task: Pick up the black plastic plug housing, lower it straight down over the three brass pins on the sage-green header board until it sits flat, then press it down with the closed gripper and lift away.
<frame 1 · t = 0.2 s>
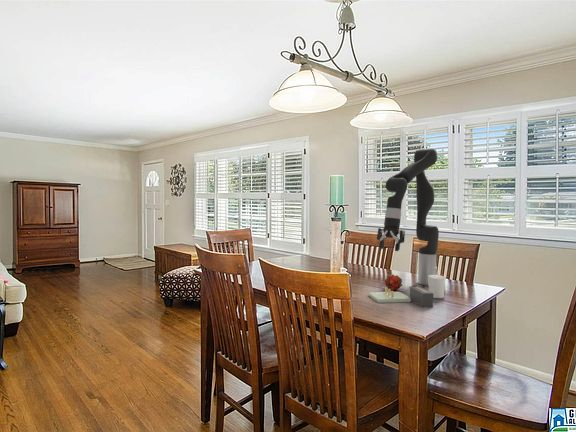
hand: (388, 249, 181), 22 cm above the table, tool pointing down, fingers open, 8 cm apart
white cup: (436, 296, 179), on the table
plug housing: (420, 302, 168), on the table
dragon fruit: (393, 290, 190), on the table
header board: (389, 298, 174), on the table
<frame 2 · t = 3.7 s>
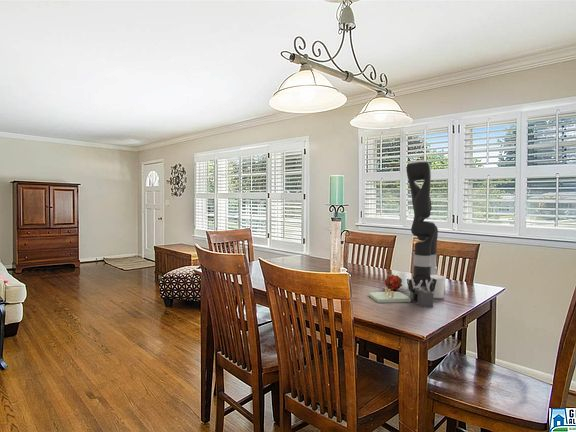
hand: (421, 300, 168), 1 cm above the table, tool pointing down, fingers closed on plug housing, 5 cm apart
plug housing: (420, 302, 168), on the table, touching gripper
everything else where it was.
when the fingers open (3 cm above the table, at t = 9.5 s): plug housing stays where it is, resting on header board.
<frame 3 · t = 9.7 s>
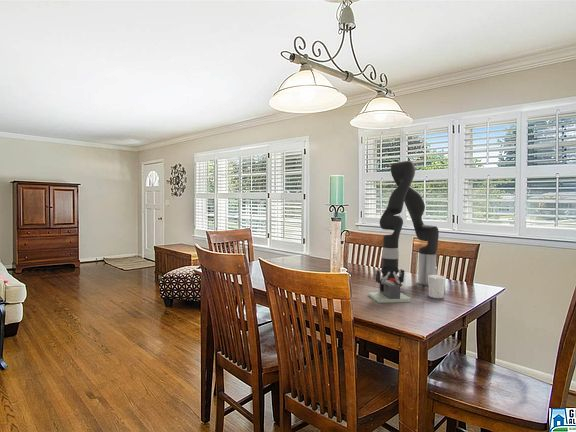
hand: (389, 291, 174), 4 cm above the table, tool pointing down, fingers open, 6 cm apart
plug housing: (389, 295, 174), point 1 cm above the table, touching header board
everything else where it was.
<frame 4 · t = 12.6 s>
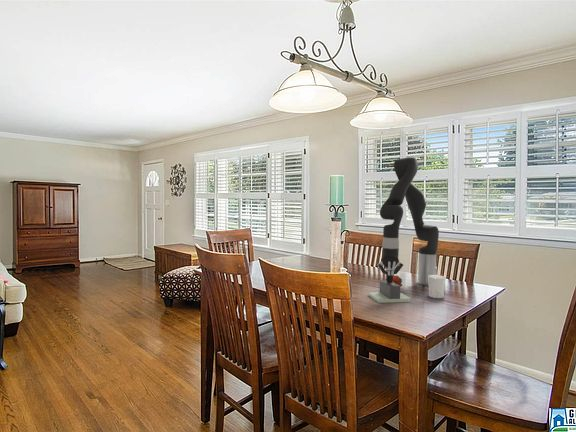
hand: (389, 282, 173), 8 cm above the table, tool pointing down, fingers closed
plug housing: (389, 295, 174), point 1 cm above the table, touching gripper, header board
everything else where it was.
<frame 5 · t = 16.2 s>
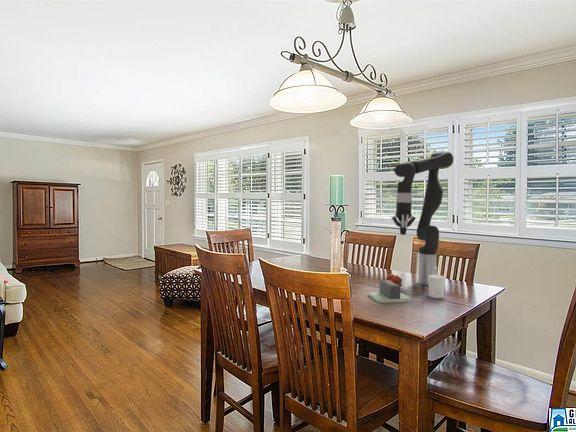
hand: (402, 234, 190), 29 cm above the table, tool pointing down, fingers closed
plug housing: (389, 295, 174), point 1 cm above the table, touching header board
everything else where it was.
at the end: plug housing 0.1 cm off-centre on the header board, point 1.5 cm above the header board's base; plug housing tilted 0°; the gripper is holding nothing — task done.
